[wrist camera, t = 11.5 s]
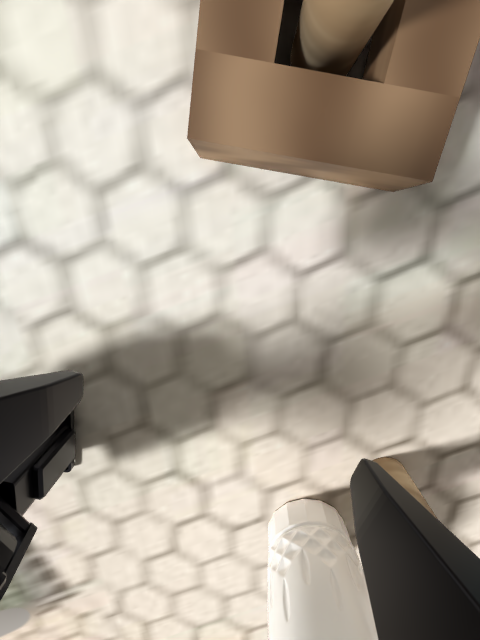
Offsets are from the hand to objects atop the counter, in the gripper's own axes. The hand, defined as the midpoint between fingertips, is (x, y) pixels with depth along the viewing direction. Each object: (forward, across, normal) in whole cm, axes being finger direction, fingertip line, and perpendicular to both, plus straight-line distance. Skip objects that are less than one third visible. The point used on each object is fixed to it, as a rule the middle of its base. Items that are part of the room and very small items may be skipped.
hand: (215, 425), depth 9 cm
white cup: (+11, +9, -19) cm, 24 cm away
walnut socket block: (+14, 0, +14) cm, 20 cm away
